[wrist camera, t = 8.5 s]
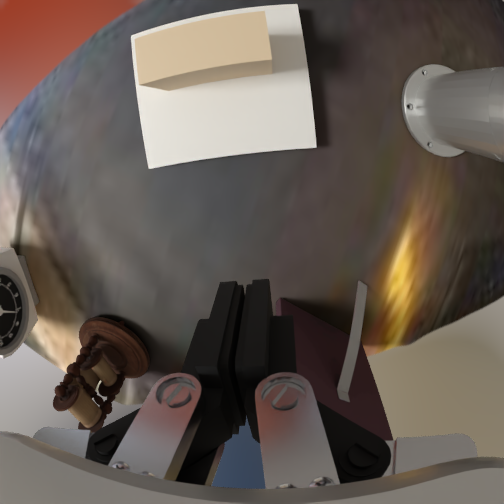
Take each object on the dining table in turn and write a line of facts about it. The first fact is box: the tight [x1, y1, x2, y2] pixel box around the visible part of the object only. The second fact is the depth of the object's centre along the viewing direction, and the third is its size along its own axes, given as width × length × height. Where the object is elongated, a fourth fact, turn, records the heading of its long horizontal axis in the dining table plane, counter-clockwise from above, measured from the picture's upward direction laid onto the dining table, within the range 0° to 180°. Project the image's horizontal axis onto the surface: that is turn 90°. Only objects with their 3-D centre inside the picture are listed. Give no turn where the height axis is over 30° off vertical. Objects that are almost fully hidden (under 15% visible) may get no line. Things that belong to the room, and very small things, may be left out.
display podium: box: [131, 4, 317, 169], centre depth 29 cm, size 20×18×2 cm
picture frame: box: [276, 280, 393, 441], centre depth 31 cm, size 17×10×25 cm, turn 58°
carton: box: [135, 11, 272, 91], centre depth 24 cm, size 12×8×5 cm
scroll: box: [53, 317, 150, 433], centre depth 41 cm, size 15×15×20 cm
